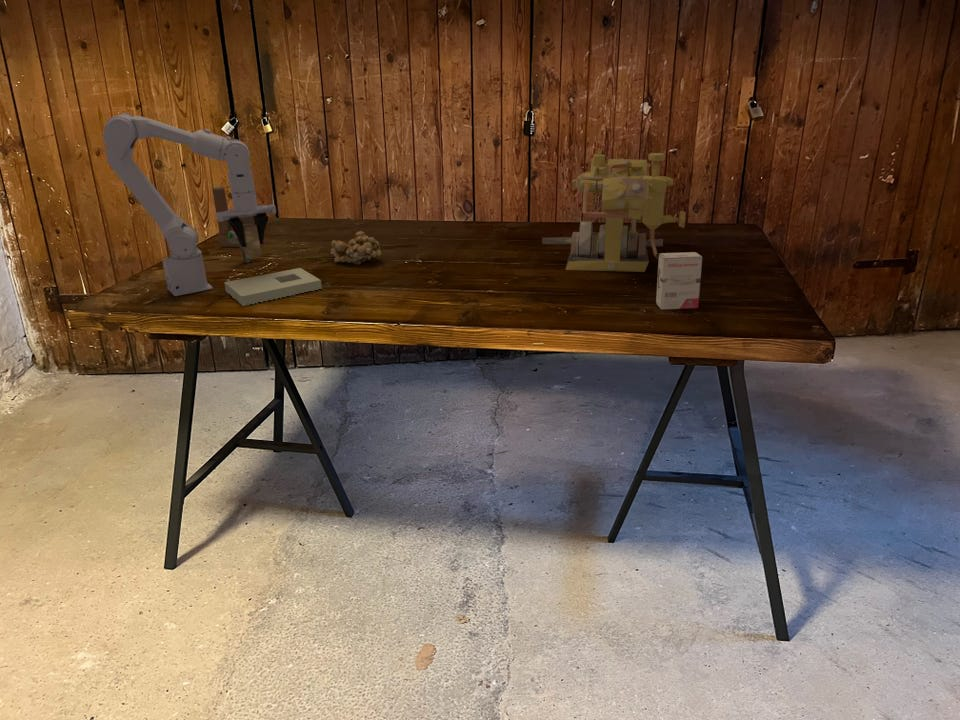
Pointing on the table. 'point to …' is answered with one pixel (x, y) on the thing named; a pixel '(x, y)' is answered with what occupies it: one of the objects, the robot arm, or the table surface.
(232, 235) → the mechanical component
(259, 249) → the birch peg
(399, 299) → the table surface
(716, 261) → the table surface
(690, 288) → the ink box
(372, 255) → the mineral formation
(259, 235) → the robot arm
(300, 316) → the table surface
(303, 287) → the socket board
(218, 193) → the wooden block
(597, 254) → the mechanical engine
